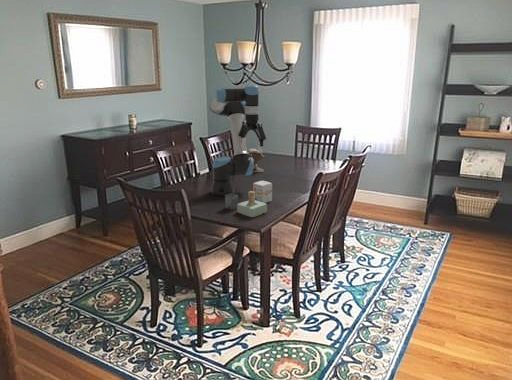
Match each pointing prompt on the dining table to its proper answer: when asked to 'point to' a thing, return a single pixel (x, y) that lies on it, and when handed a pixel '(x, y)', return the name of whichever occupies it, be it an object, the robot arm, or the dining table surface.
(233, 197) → the dark grey block
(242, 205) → the socket block
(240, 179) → the dining table surface
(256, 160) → the cherub figurine
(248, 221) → the dining table surface
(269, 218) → the dining table surface
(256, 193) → the ink box
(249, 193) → the birch dowel
